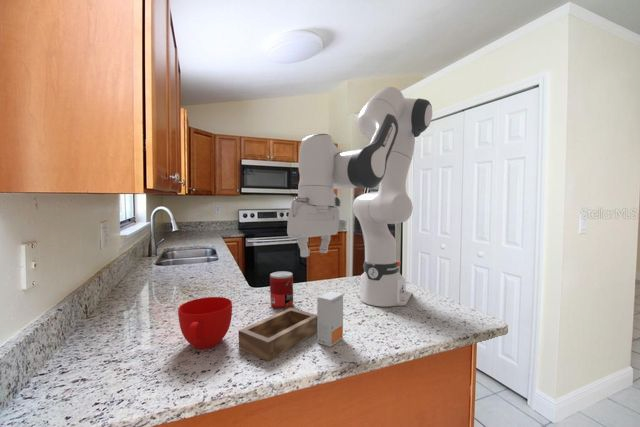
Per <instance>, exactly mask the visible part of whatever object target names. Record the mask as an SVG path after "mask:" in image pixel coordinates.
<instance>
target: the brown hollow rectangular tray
mask: <svg viewBox="0 0 640 427" xmlns="http://www.w3.org/2000/svg"><path fill="white" fill-rule="evenodd" d="M237 333H238V349H240V350H242V351H243V352H246V353H248V354H250V355H251V356H252V355H253V356H255V357H257V358H259V359H261V360H263V361H266V362H268V363H269V362H270V361H272V360H274V359H276V358H277V357H279V356H280V355H283V354H284V353H286V352H287V351H289V350H291V349H292V348H294V347H296V346H297V345H299V344H300V343H302V342H304V341H306V340H307V339H309V338H310V337H312V336H313V335H315V334H316V335H317V314H314V313H311V312H307V311H303V310H300V309H296V308H292V307H288V308H286V309H285V310H283V311H281V312H280V311H279V312H277V313H276V314H273V315H271V316H269V317H267V318H266V317H265V318H264V319H261V320H259V321H258V322H255V323H253V324H250V325H248V326H245V327H244V328H241V329H240V330H238V331H237Z"/></svg>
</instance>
